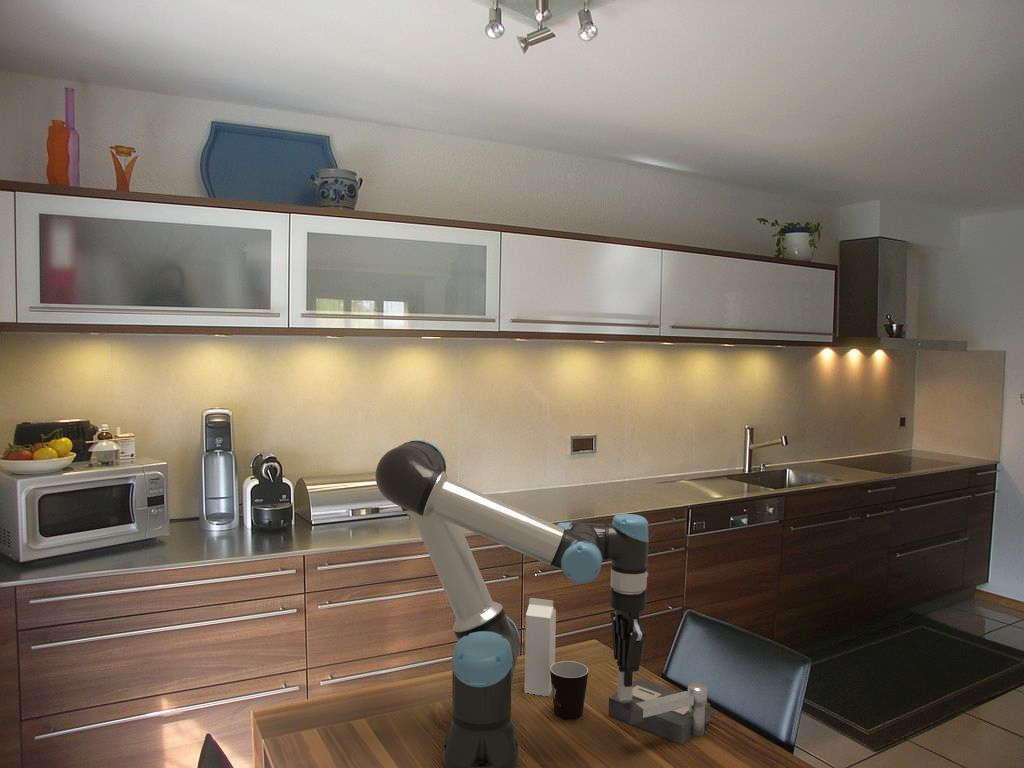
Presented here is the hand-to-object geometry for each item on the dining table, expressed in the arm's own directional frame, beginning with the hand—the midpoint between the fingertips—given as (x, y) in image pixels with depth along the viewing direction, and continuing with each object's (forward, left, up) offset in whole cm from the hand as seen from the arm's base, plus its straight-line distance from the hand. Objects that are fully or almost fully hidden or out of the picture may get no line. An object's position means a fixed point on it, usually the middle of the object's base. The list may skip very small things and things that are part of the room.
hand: (624, 698), depth 152 cm
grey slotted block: (+2, +11, -8) cm, 14 cm away
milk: (-26, +4, -8) cm, 27 cm away
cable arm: (+8, +3, -1) cm, 9 cm away
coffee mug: (-15, +1, -8) cm, 17 cm away
